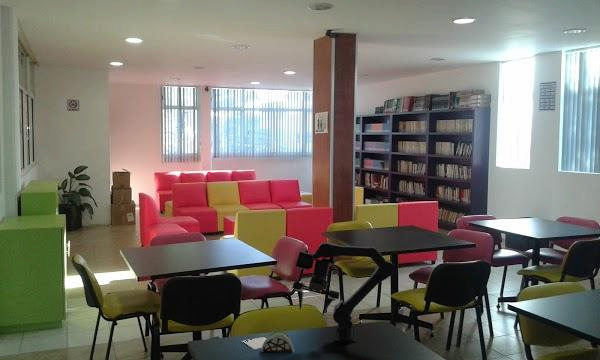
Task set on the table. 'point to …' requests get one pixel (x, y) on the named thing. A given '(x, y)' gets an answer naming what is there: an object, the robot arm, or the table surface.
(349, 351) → the table surface
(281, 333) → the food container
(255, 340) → the mat
